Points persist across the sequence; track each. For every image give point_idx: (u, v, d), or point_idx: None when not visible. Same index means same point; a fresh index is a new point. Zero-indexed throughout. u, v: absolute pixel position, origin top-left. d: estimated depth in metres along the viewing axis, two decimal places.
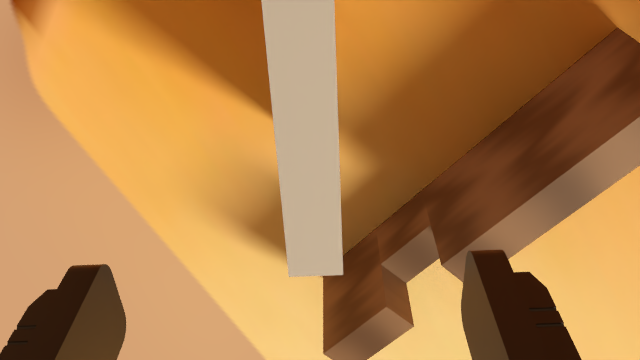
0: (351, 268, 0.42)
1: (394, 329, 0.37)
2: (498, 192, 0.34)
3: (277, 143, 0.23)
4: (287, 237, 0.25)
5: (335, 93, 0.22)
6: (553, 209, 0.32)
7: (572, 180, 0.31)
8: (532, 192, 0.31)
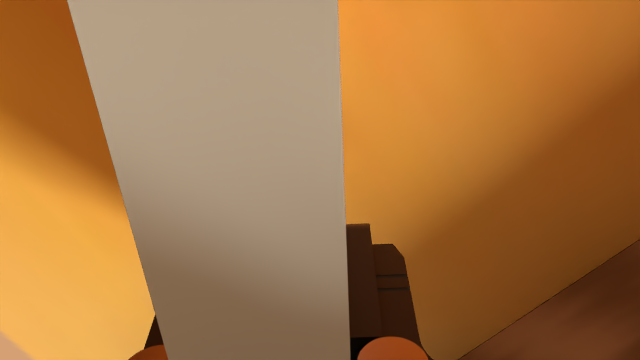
0: None
1: None
2: None
3: None
4: None
5: None
6: None
7: None
8: None
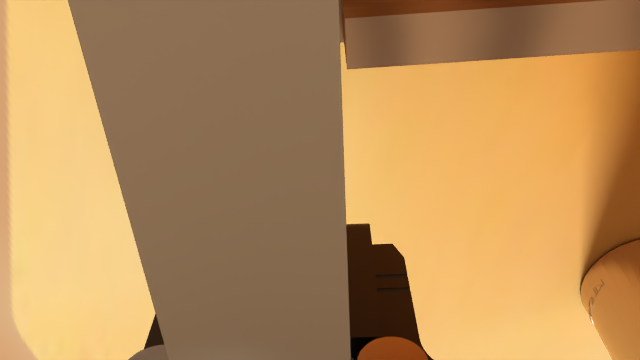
0: None
1: None
2: None
3: None
4: None
5: None
6: (489, 40, 0.27)
7: (529, 20, 0.27)
8: (487, 6, 0.27)
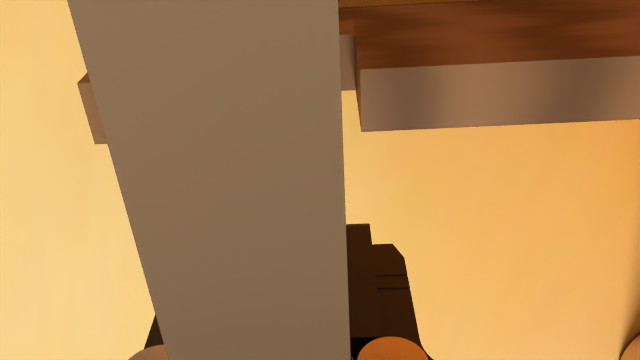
0: None
1: None
2: (483, 42, 0.22)
3: None
4: None
5: None
6: (546, 99, 0.21)
7: (600, 76, 0.21)
8: (545, 56, 0.21)
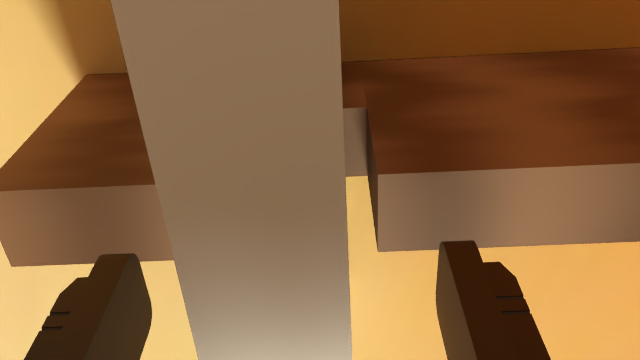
0: None
1: None
2: (545, 125, 0.16)
3: None
4: None
5: None
6: (637, 212, 0.15)
7: None
8: (639, 155, 0.15)
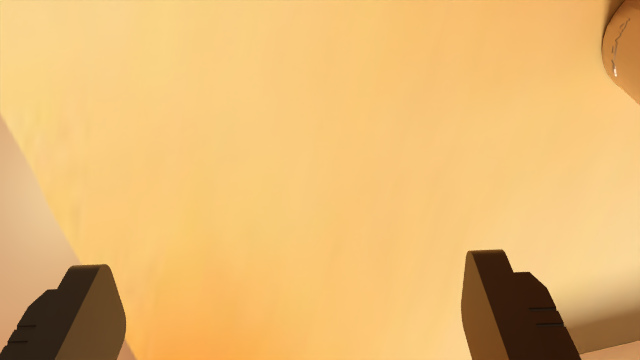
0: None
1: None
2: None
3: None
4: None
5: None
6: None
7: None
8: None
